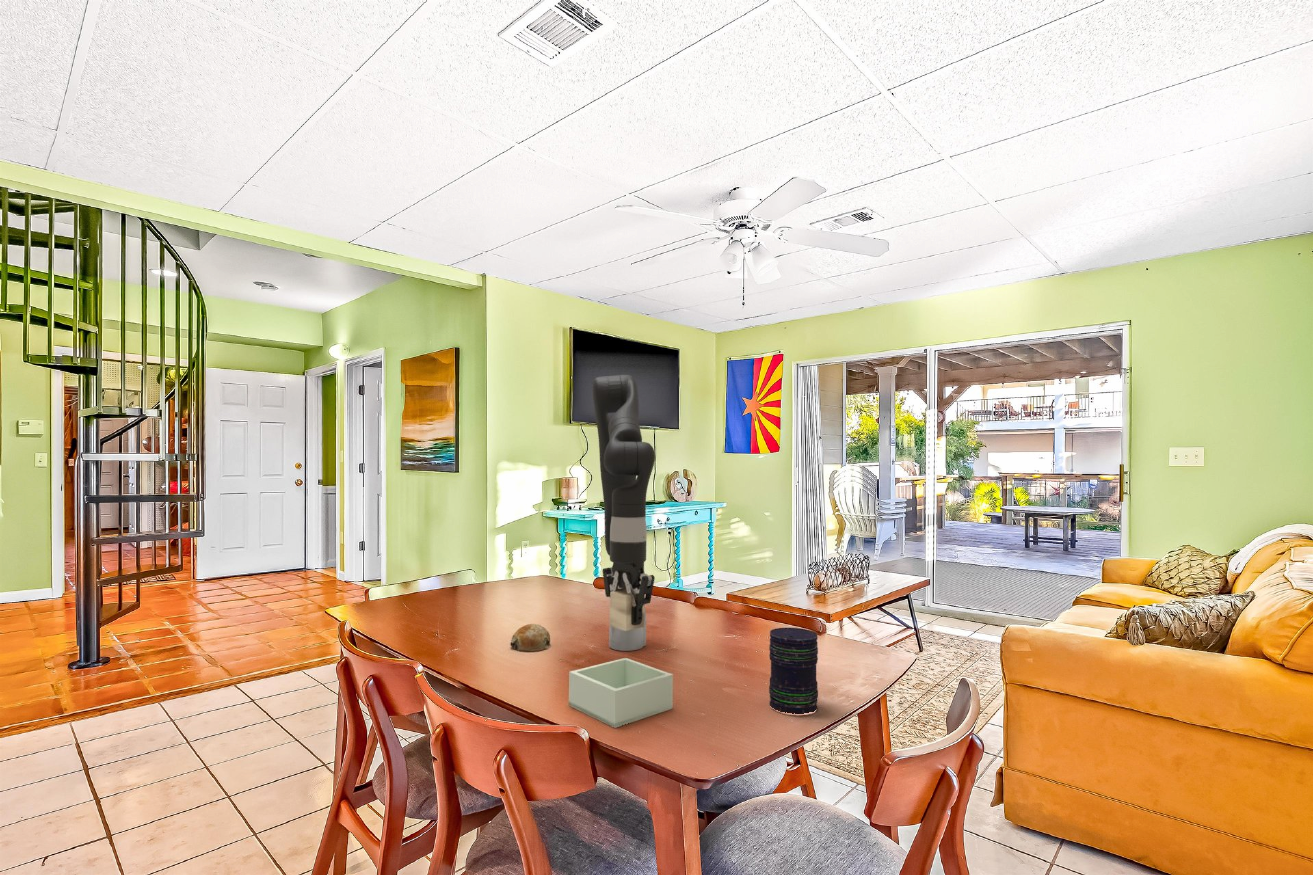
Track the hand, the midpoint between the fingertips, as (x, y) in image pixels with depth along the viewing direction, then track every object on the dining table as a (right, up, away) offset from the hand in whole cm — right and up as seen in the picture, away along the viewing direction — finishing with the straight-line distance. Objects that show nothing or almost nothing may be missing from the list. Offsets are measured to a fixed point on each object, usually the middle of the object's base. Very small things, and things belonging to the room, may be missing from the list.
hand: (627, 621), depth 133 cm
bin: (-1, -17, -1) cm, 17 cm away
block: (0, -1, 0) cm, 1 cm away
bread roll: (-28, -19, +42) cm, 54 cm away
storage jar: (+34, -18, 0) cm, 38 cm away
